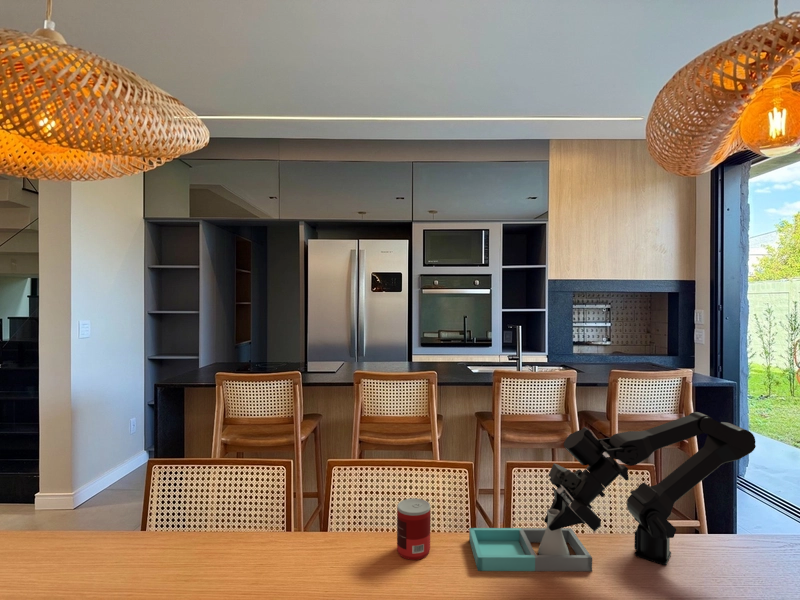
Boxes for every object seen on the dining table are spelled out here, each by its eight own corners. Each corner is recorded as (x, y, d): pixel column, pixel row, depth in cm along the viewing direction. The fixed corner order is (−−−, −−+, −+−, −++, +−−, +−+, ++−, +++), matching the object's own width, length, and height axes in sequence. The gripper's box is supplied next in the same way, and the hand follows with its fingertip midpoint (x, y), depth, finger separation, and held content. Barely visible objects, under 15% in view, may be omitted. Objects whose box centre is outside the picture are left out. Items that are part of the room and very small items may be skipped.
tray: (571, 540, 118) (571, 528, 118) (592, 571, 105) (592, 557, 105) (469, 540, 118) (469, 527, 118) (477, 570, 105) (478, 557, 105)
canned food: (436, 548, 115) (436, 502, 114) (419, 564, 108) (419, 516, 108) (408, 539, 119) (408, 495, 118) (390, 554, 112) (390, 507, 112)
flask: (565, 546, 115) (566, 505, 115) (573, 563, 108) (573, 519, 108) (534, 545, 116) (535, 504, 116) (540, 562, 109) (540, 518, 109)
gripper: (557, 441, 121) (513, 485, 121) (586, 469, 102) (534, 520, 102) (589, 472, 121) (544, 516, 121) (623, 505, 102) (571, 557, 103)
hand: (547, 525), depth 112 cm, fingers closed on flask, 3 cm apart
